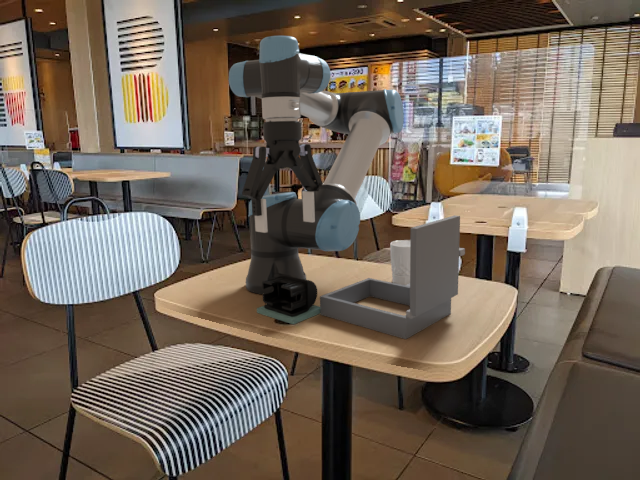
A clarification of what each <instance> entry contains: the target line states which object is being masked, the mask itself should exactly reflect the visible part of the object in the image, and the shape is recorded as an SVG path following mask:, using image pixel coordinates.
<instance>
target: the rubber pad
mask: <svg viewBox="0 0 640 480" xmlns="http://www.w3.org/2000/svg"><path fill="white" fill-rule="evenodd" d="M256 313H257V314H260V315H263V316H266V317H270V318H273V319H275V320H278V321H281V322H284V323H287V324H288V323H289V324H291V325H295V324H298V323H300V322H302V321H304V320H307V319H309V318H313V317H314V316H317V315H320V305H315V304H314V305H313V306H312V307H311V308H310V309H309V310H308V311H307V312H305V313H302V314H300V315H297V316H295V317H291V316H288V315H285V314H281V313H278V312H275V311H272V310H269V309H266V308H264V305H262V306H259V307H256Z"/></svg>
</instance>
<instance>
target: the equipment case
mask: <svg viewBox="0 0 640 480" xmlns="http://www.w3.org/2000/svg"><path fill="white" fill-rule="evenodd" d="M460 228H461V216H460V215H451V216H449V217H448V216H447V217H443V218H441V219H437V220H434V221H430V222H427V223H423V224H420V225H417V226H413V227H410V236H409V237H410V239H409V240H410V284H407V285H401V284H396V283H393V282H392V281H386V280H381V279H376V278H370V277H368V278H365V279H362V280H359V281H357V282H354V283H352V284H348V285H346V286H343V287H341V288H338V289H336V290H332V291H330V292H328V293H325V294H322V295H320V296H319V307H320V314H319V315H321V316H325V317H328V318H331V319H334V320H337V321H341V322H345V323H348V324H352V325H355V326H359V327H362V328H365V329H369V330H373V331H376V332H380V333H383V334H387V335H391V336H393V337H397V338H401V339H404V340H407V339H409V338H411V337H412V336H414V335H415V334H417V333H419V332H422V331H423V330H424V329H426V328H428V327H430V326H431V325H433V324H435V323H437V322H439V321H440V320H442V319H444V318H445V317H447V316H449V315H451V314H452V298H454V297H455V296H458V295H459V271H460V270H459V268H460V267H459V266H460V263H459V262H460V257H462V256H465V254H466V248H464V247H460V238H461V235H460V233H461V229H460ZM369 297H371V298H376V299H381V300H383V301H389V302H393V303H397V304H400V305H405V306H409V309H407V310H406V311H405V315H403V314H399V313H397V312H396V313H395V312H391V311H386V310H383V309H380V308H376V307H371V306H367V305H363V304H360V303H357V302H360V301H362V300H364V299H366V298H369Z"/></svg>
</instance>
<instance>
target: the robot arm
mask: <svg viewBox="0 0 640 480" xmlns="http://www.w3.org/2000/svg"><path fill="white" fill-rule="evenodd" d="M330 80H331V69H330V66H329V65H328V62H326V60H324V59H322V58H320V57H319V56H315V54H314V55H311V54H306V53H301V52H300V47H299V42H298V39H297V38H296V37H294V36H291V35H271V36H266V37H264V38H262V39H260V42H259V59H254V60H245V61H240V62H237V63H233V65H232V66H231V67H230V68H229V72H228V83H229V87H230V90H231V91H232V93H233V94H234V95H235V96H237V97H239V98H240V97H241V98H242V97H243V98H250V97H255V98H258V99H261V108H262V109H261V111H262V113H261V114H262V119H263V120H265V122H263V124H262V133H263V140H264V141H265V142H266V146H254V147H253V148H252V160H251V163H250V166H249V170H248V173H247V176H246V179H245V182H244V185H243V189H242V192H241V193H242V196H243V197H246V198H248V199H250V201H249V202H248V215H247V216H248V221H249V222H248V223H249V239H250V253H251V256H250V257H251V258H250V262H249V267H248V270H247V275H246V277H245V288H246V290H247V291H248V292H251V293H253V294H258V295H263V294H265V293H269V292H271V291H272V289H273V288H272V286H271V287H268V288H265V289H262V282H263V281H265V280H268V279H272V278H274V274H275V273H281V274H285V275H289V276H293V277H297V278H302V279H306V280H307V274H306V273H305V271H304V268H303V264H302V260H301V258H300V255H299V249H308V250H318V251H319V250H320V251H323V252H340V251H341V252H342V251H344V250H347V249H348V248H350V247H351V246H352V245H353V243H354V242H355V240H356V239H357V236H358V233H359V230H360V227H359V226H360V224H361V214H360V213H361V212H360V209H359V207H358V204H357V201H356V197H357V195H358V193H359V191H360V189H361V187H362V185H363V182H364V181H365V178H366V175H367V174H368V172H369V169H370V167H371V165H372V163H373V160H374V158H375V156H376V154H377V151H378V149H379V147H380V146H381V145H384V144H386V143H387V141H388V140H389V138H390V136H391V134H395V135H396V134H399V133H401V132H402V130H403V128H404V127H403V126H404V121H405V119H404V118H405V117H404V115H405V114H404V106H403V101H402V98H401V95H400V93H399V92H398V91H397V90H396V89H386V88H384V89H380V90H365V91H353V92H351V91H348V92H332V91H331V92H330V91H328V90H326V88H327V87H328V85H329V84H330V82H331V81H330ZM302 116H303V117H305V118H308V119H309V120H310V122H312V123H313V124H314V125H316V126H318V127H321V128H323V129H325V130H329V131H332V132H335V133H340V134H344V135H345V134H346V135H347V137H346V138H345V140H344V142H343V145H342V147H341V148H340V150H339V153H338V154H337V156H336V158H335V160H334V162H333V164H332V165H331V168H330V170H329V172H328V173H327V176H326V178H325V180H324V181H322V178H321V176H320V173H319V171H318V168H317V165H316V163H315V159H314V158H313V155H312V153H313V152H312V147H311V145H310V144H308V143H307V144H306V143H305V144H304V143H303V144H300V140H302V122H301V121H300V120H299V119H300V118H301V117H302ZM298 120H299V121H298ZM266 158H267V159H266ZM281 169H282V170H283V169H291V171H292V172H293V174H294V175H295V176H296V178H297V179H298V180H299V183H300V184H301V185H302V186H303V188H304V190H303V191H302V198H298V196H297V194H296V192H294V191H289V192H288V191H287V192H280V193H279V192H278V193H273V194H266V192H267V190H268V188H269V186H270V184H271V182H272V181H273V179H274V177H275V175H276V173H277V172H278V171H280V170H281ZM265 194H266V195H265Z"/></svg>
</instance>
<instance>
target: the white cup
mask: <svg viewBox="0 0 640 480" xmlns="http://www.w3.org/2000/svg"><path fill="white" fill-rule="evenodd" d="M389 246H390V264H391V268H390V269H391V277H392V281H391V283H396V284H401V285H407V284H410V239H404V240H401V239H400V240H393V241H391V242H390V245H389Z"/></svg>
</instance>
